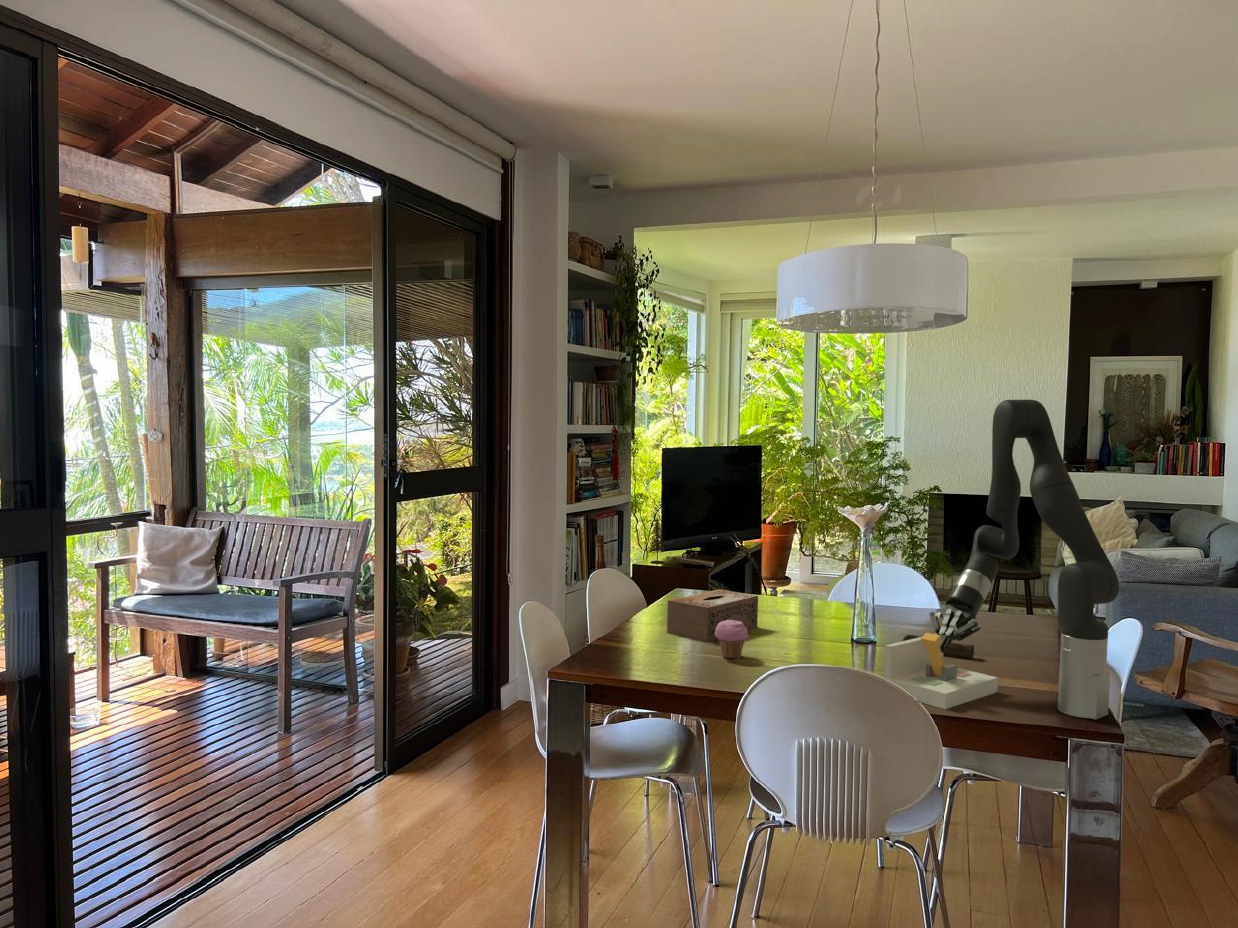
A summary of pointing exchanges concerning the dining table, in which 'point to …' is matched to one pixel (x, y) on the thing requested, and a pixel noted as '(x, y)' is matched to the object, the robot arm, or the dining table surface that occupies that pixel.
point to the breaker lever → (934, 651)
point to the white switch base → (933, 676)
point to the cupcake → (731, 637)
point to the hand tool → (953, 648)
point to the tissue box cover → (710, 613)
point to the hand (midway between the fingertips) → (939, 650)
